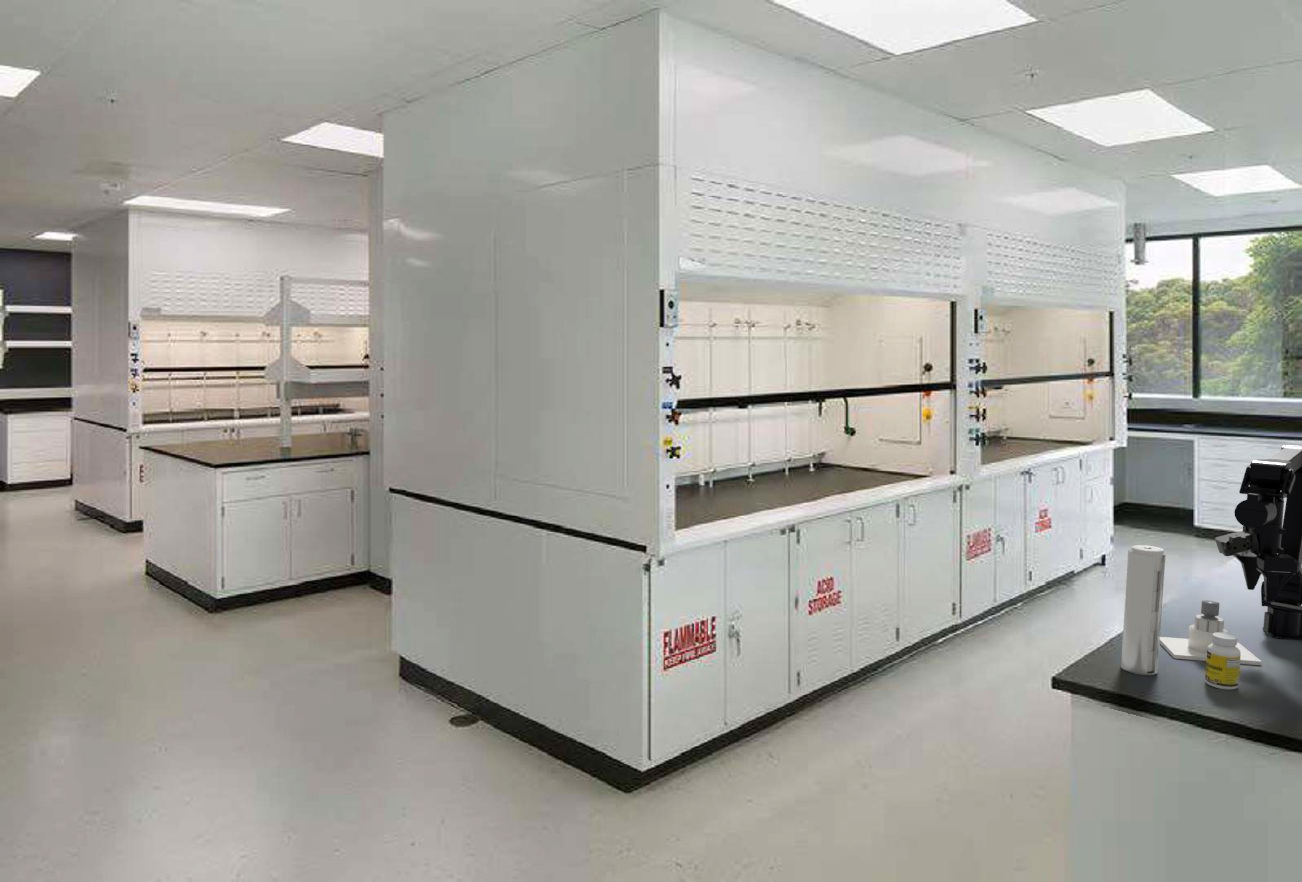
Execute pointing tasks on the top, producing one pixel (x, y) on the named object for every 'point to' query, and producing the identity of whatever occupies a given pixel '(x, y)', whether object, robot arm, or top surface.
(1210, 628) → the white tiered cylinder
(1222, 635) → the supplement bottle
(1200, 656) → the tray
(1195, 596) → the top surface
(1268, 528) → the robot arm
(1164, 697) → the top surface
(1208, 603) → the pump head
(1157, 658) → the white tall cylinder
